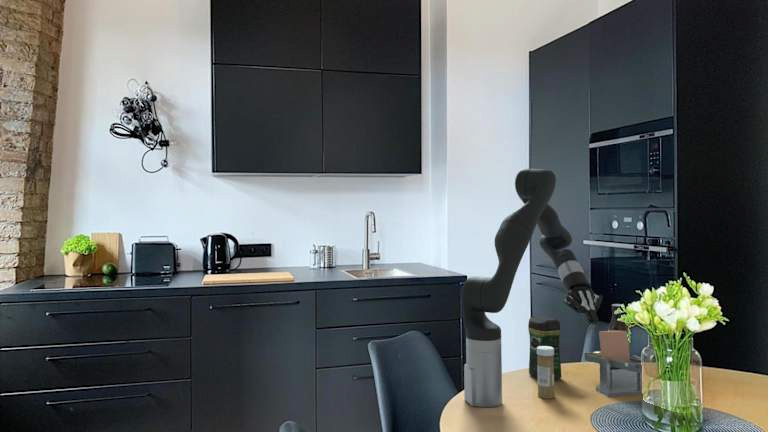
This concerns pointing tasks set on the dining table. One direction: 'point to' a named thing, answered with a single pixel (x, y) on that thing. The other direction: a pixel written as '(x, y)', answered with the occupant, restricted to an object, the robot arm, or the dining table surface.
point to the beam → (618, 363)
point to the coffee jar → (544, 342)
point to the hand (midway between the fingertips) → (594, 322)
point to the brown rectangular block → (614, 345)
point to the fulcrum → (618, 380)
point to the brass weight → (597, 353)
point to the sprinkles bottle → (545, 372)
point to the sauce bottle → (617, 324)
